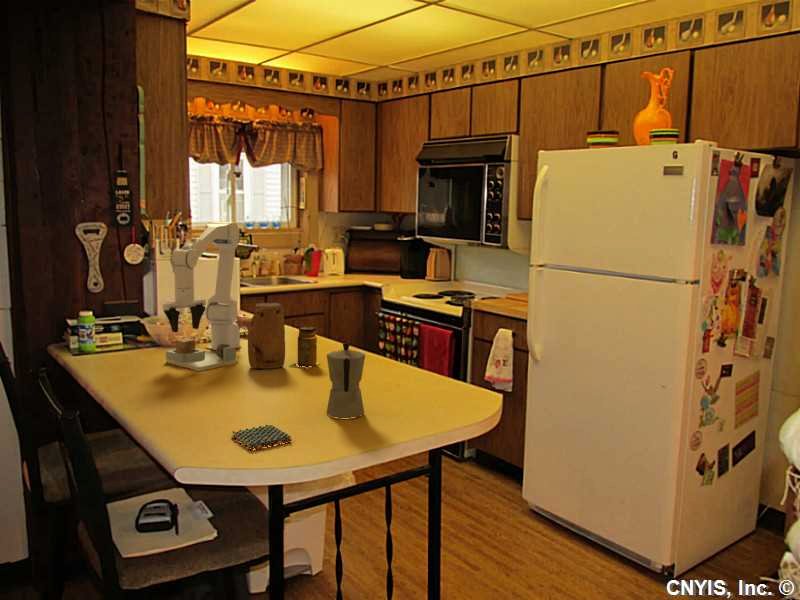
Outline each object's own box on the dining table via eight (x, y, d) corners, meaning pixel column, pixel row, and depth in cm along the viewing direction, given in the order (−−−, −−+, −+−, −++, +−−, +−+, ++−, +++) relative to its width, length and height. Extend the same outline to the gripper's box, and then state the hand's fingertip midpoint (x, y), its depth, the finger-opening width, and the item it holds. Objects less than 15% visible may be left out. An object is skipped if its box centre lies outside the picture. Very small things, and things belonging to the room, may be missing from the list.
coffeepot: (326, 406, 175) (326, 337, 172) (363, 406, 175) (364, 337, 173) (325, 425, 159) (326, 350, 157) (366, 425, 160) (367, 350, 158)
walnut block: (187, 356, 221) (186, 338, 220) (195, 358, 218) (195, 340, 217) (176, 358, 217) (175, 339, 217) (184, 360, 215) (184, 341, 214)
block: (279, 363, 219) (279, 301, 217) (286, 368, 213) (286, 304, 210) (246, 366, 215) (245, 303, 212) (252, 371, 208) (251, 306, 205)
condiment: (321, 363, 220) (322, 327, 218) (308, 369, 212) (308, 331, 210) (302, 361, 223) (302, 325, 221) (288, 366, 215) (288, 329, 213)
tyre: (227, 356, 220) (227, 343, 220) (231, 357, 219) (231, 343, 219) (216, 358, 217) (216, 345, 216) (220, 359, 216) (220, 346, 215)
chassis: (205, 354, 229) (205, 338, 228) (238, 362, 219) (238, 346, 218) (166, 362, 217) (165, 345, 216) (199, 371, 207) (198, 353, 206)
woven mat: (250, 454, 142) (250, 445, 141) (229, 440, 150) (229, 431, 150) (294, 445, 148) (294, 436, 148) (272, 431, 156) (272, 422, 156)
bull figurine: (241, 331, 270) (241, 311, 269) (258, 337, 260) (258, 316, 259) (231, 332, 267) (231, 312, 266) (247, 338, 257) (247, 317, 256)
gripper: (196, 284, 222) (196, 325, 224) (156, 288, 211) (157, 331, 213) (209, 286, 218) (210, 328, 220) (170, 290, 207) (171, 334, 209)
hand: (185, 330), depth 216 cm, fingers open, 7 cm apart
